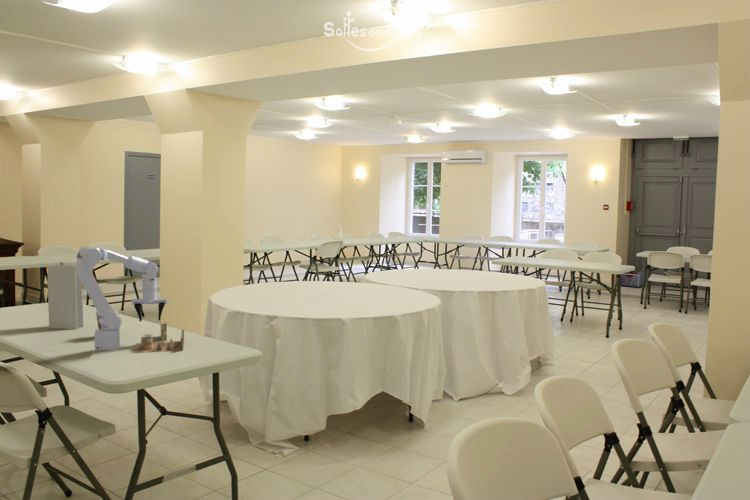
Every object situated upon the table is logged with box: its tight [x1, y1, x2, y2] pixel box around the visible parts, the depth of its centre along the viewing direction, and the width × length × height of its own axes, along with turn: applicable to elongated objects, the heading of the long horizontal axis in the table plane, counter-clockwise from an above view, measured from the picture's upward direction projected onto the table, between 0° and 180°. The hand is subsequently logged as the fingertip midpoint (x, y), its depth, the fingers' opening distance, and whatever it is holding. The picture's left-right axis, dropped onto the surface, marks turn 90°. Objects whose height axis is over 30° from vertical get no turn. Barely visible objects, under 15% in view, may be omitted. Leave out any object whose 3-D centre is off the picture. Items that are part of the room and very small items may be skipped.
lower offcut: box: [140, 339, 154, 350], centre depth 262 cm, size 4×7×2 cm, turn 15°
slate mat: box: [153, 334, 179, 338], centre depth 280 cm, size 12×13×1 cm
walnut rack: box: [130, 329, 185, 354], centre depth 263 cm, size 20×18×6 cm
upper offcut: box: [140, 333, 154, 343], centre depth 261 cm, size 4×5×2 cm
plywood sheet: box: [159, 318, 168, 342], centre depth 279 cm, size 2×10×8 cm, turn 22°
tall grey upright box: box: [46, 264, 84, 330], centre depth 304 cm, size 14×6×30 cm, turn 84°
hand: (150, 320), depth 271 cm, fingers open, 7 cm apart
